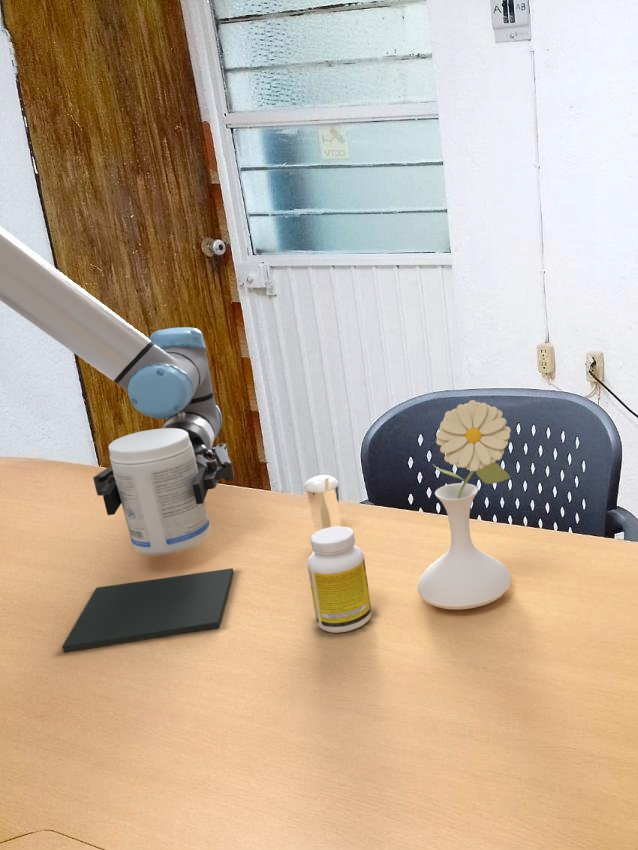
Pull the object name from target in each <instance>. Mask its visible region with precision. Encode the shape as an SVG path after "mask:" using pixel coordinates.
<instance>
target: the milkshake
mask: <svg viewBox="0 0 638 850" xmlns="http://www.w3.org/2000/svg"><path fill="white" fill-rule="evenodd" d="M303 488H304V492H305V496H306V500H307V503H308V507H309V512H310V515H311V520H312V523H313V528H314V533H315V532H317V531H319V530H321V529H325V528H329V527H335V526H341V512H340V493H339V492H340V491H339V488H340V487H339V481H338V480H337V478H336V477H334V476H331V475H326V474H320V475H316V476H313V477H311V478H309V479H308V480H306V482H305V483H304V485H303Z"/></svg>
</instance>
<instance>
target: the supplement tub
mask: <svg viewBox="0 0 638 850" xmlns="http://www.w3.org/2000/svg"><path fill="white" fill-rule="evenodd" d="M107 448H108V453H109V460H110V466H111V465H112V469H113V473H114V477H115V481H116V484H117V488H118V492H119V496H120V500H121V506H122V511H123V515H124V518H125V523H126V526H127V530H128V534H129V537H130V541H131V545H132V547H133V549H134V550H135V551H136V552H137V553H139V554H142V555H147V556H155V557H156V556H167V555H173V554H176V553H179V552H184V551H188V550H191V549H192V548H193V549H194V548H195V547H197V546H198V545H200V544H202V543H203V542H204V541H205V540H207V538H208V537H209V536H210V535H211V522H210V518H209V514H208V509H207V503H206V501H205V499H204V502H203V504H196V499H195V494H194V489H193V483H194V481H195V478H196V476H197V474H198V468H197V464H196V459H195V455H194V450H193V446H192V444H191V441H190V439H189V435H188V433H187V432H186V431H185V430H182V429H176V428H162V427H161V428H154V429H147V430H142V431H141V430H140V431H138V432H133V433H129V434H126V435H124V436H121V437H118V438H116V439H115V440H113V441H112V442H110V443H109V445H108V447H107Z"/></svg>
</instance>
